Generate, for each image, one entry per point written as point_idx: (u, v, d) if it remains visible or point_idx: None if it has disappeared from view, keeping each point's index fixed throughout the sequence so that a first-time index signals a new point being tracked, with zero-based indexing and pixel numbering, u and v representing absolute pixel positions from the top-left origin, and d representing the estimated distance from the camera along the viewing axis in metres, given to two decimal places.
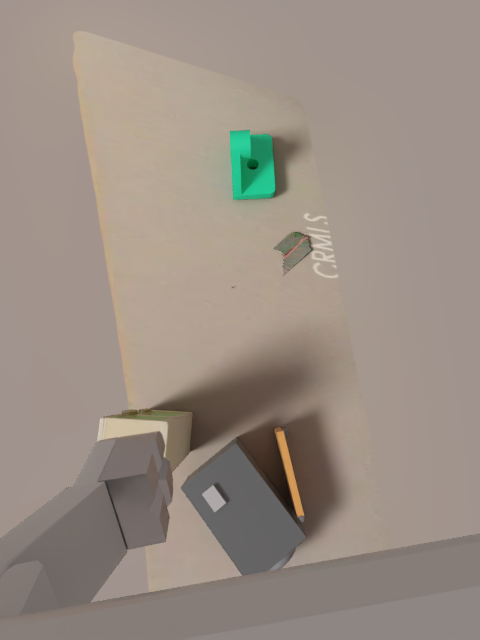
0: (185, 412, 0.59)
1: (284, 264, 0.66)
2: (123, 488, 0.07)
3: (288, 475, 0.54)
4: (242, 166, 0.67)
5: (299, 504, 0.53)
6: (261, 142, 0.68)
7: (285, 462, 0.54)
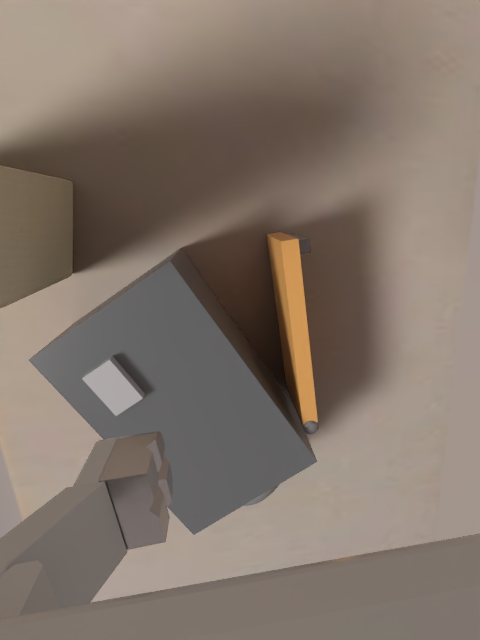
0: None
1: None
2: (123, 488, 0.07)
3: (295, 343, 0.23)
4: None
5: (311, 401, 0.24)
6: None
7: (293, 314, 0.22)
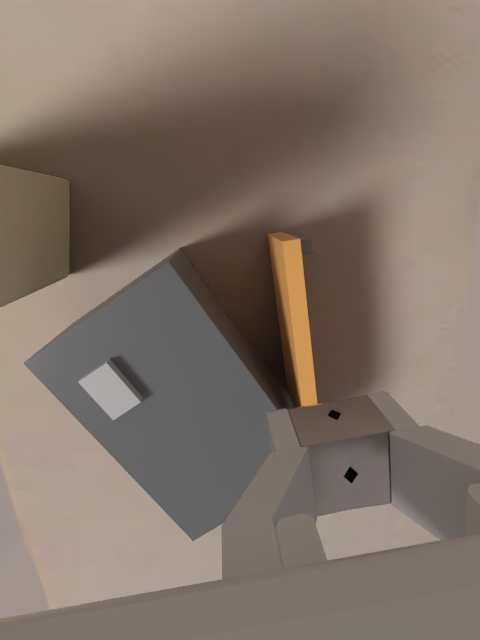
0: None
1: None
2: (323, 453, 0.07)
3: (297, 345, 0.22)
4: None
5: None
6: None
7: (294, 316, 0.22)
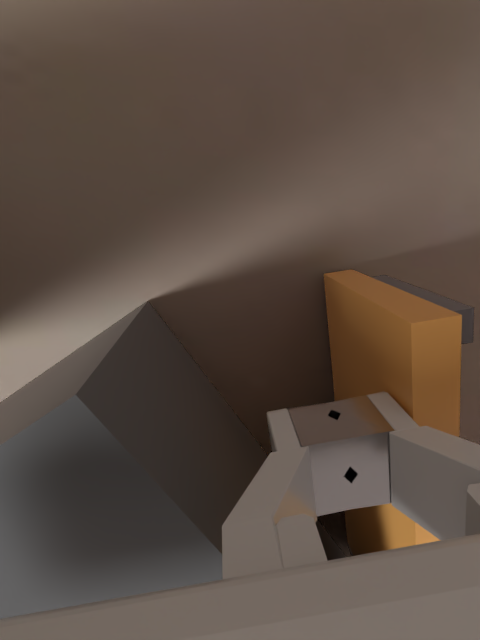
0: None
1: None
2: (323, 453, 0.07)
3: None
4: None
5: None
6: None
7: None
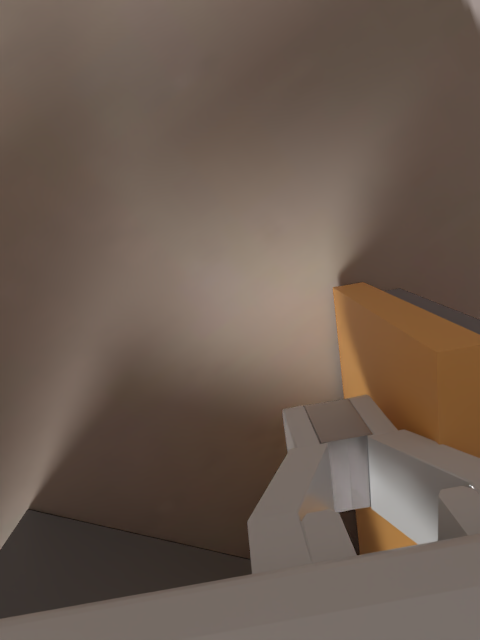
0: None
1: None
2: (342, 450, 0.07)
3: None
4: None
5: None
6: None
7: None
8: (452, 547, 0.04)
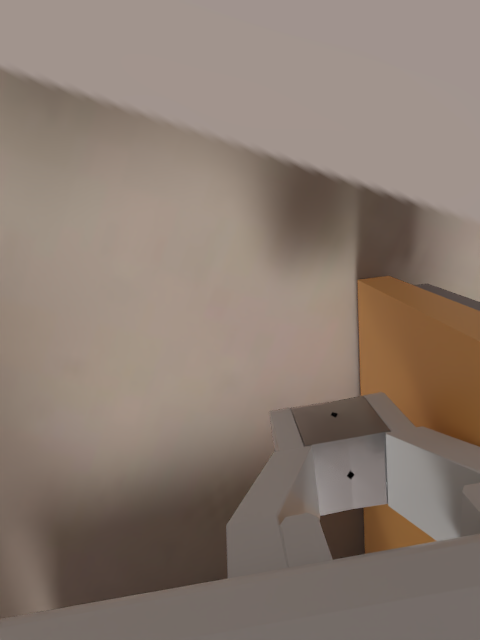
0: None
1: None
2: (326, 453, 0.07)
3: None
4: None
5: None
6: None
7: None
8: (452, 547, 0.04)
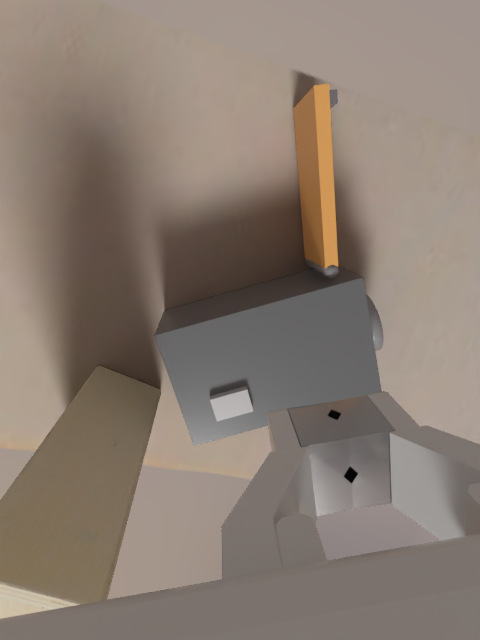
0: None
1: None
2: (323, 453, 0.07)
3: (322, 186, 0.26)
4: None
5: (333, 245, 0.27)
6: None
7: (321, 158, 0.25)
8: (452, 547, 0.04)
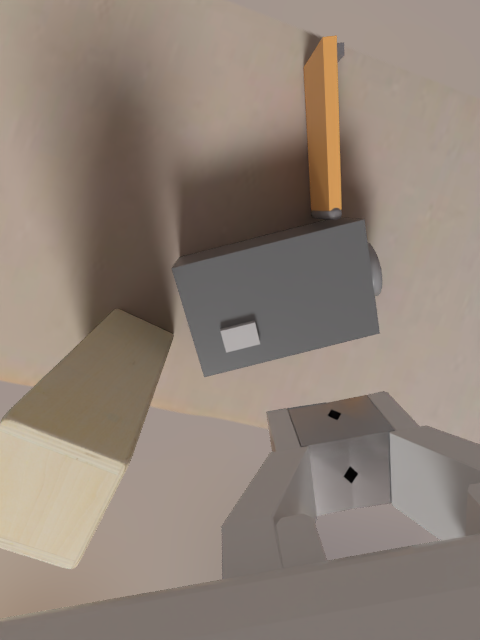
0: None
1: None
2: (323, 453, 0.07)
3: (328, 132, 0.28)
4: None
5: (337, 188, 0.29)
6: None
7: (328, 105, 0.28)
8: (452, 547, 0.04)
